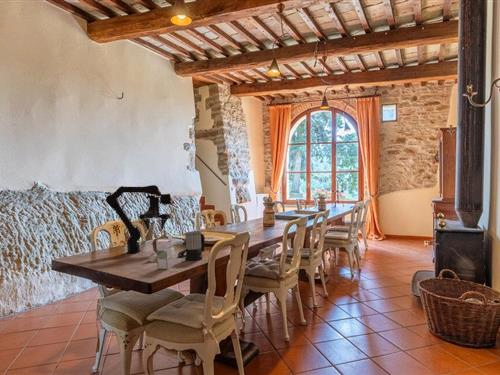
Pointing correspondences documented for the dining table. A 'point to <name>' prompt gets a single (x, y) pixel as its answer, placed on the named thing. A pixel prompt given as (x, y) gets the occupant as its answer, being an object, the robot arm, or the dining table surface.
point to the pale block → (154, 255)
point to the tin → (156, 243)
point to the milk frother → (193, 246)
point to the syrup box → (164, 253)
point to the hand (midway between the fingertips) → (155, 230)
